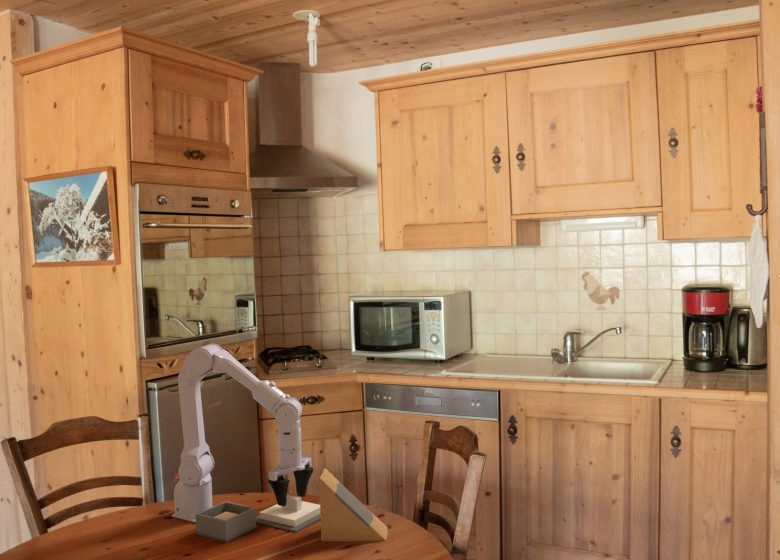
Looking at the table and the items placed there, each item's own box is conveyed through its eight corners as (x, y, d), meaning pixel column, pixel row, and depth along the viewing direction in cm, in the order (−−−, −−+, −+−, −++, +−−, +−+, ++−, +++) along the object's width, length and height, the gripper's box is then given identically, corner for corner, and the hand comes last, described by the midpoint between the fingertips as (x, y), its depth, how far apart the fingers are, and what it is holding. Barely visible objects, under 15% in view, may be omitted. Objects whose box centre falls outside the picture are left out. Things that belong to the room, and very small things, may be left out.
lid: (259, 518, 177) (259, 500, 176) (289, 504, 186) (288, 487, 186) (294, 526, 170) (294, 508, 170) (323, 511, 180) (323, 493, 180)
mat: (249, 521, 176) (249, 519, 176) (288, 502, 189) (288, 501, 189) (296, 532, 168) (296, 530, 168) (333, 512, 181) (333, 510, 181)
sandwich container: (387, 541, 162) (385, 477, 161) (320, 542, 162) (319, 478, 162) (388, 527, 170) (387, 466, 170) (325, 527, 171) (324, 466, 170)
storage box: (196, 534, 168) (195, 514, 168) (226, 520, 177) (225, 501, 177) (226, 542, 163) (225, 521, 163) (256, 528, 171) (255, 507, 171)
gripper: (283, 456, 169) (285, 512, 170) (320, 442, 182) (321, 494, 182) (261, 453, 173) (263, 507, 174) (299, 439, 185) (300, 490, 186)
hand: (291, 500), depth 178 cm, fingers open, 7 cm apart
